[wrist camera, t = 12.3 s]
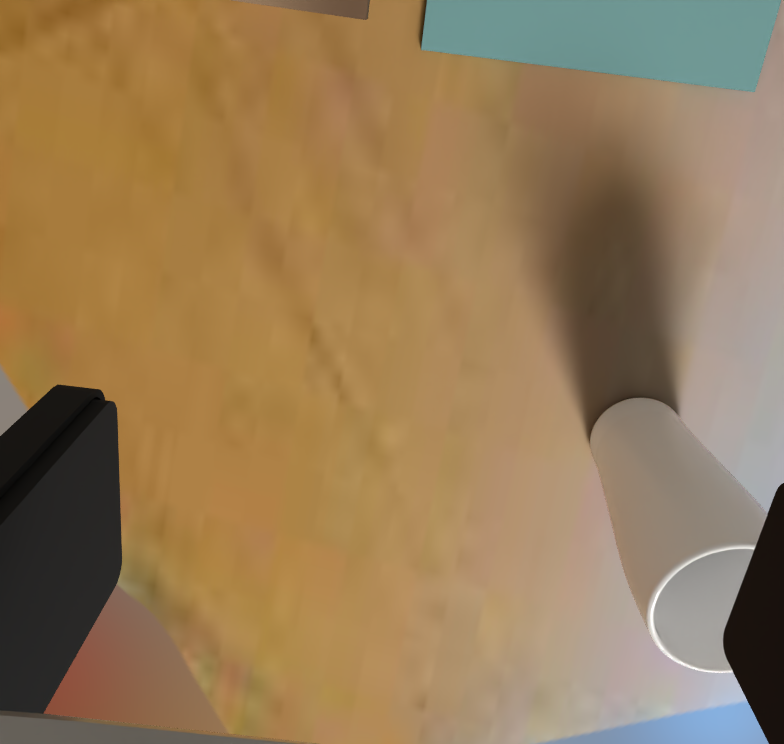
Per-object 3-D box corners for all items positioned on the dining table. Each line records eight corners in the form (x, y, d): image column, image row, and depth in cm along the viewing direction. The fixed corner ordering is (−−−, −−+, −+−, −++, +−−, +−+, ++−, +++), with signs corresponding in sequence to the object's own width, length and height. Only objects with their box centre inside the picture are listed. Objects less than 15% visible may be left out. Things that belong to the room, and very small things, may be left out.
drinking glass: (670, 362, 42) (791, 516, 28) (709, 457, 44) (839, 642, 30) (556, 411, 43) (620, 580, 30) (600, 501, 46) (678, 696, 32)
